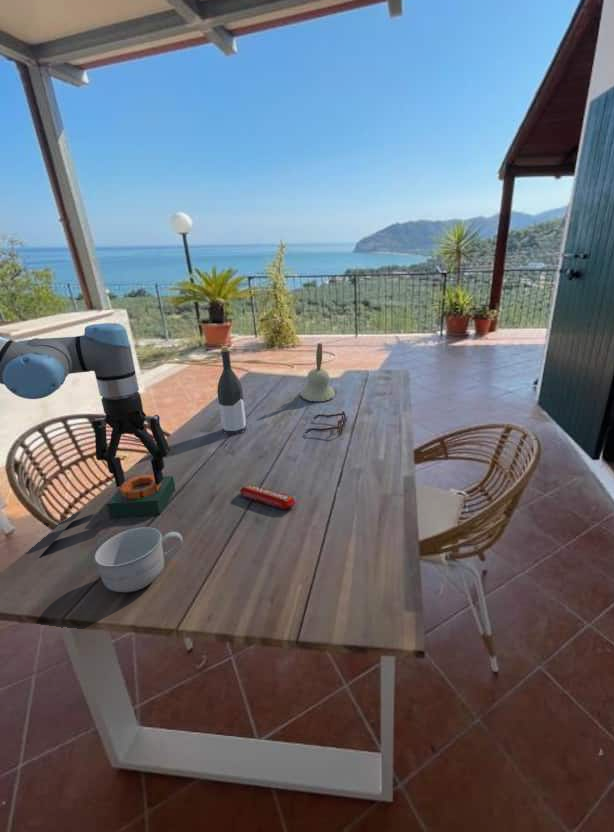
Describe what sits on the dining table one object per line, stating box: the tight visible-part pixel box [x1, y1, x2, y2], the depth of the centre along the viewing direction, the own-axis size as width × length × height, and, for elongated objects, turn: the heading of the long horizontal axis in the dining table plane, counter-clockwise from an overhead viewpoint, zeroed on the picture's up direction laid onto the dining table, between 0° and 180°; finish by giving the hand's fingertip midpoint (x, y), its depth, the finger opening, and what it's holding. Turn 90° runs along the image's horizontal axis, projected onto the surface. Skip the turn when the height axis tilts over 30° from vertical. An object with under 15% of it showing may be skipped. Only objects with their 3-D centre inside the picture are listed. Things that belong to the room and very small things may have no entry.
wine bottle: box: [216, 345, 247, 435], centre depth 132 cm, size 8×8×30 cm
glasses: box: [304, 410, 347, 435], centre depth 137 cm, size 13×13×5 cm
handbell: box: [299, 342, 336, 402], centre depth 164 cm, size 15×15×25 cm
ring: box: [119, 473, 161, 499], centre depth 94 cm, size 8×8×2 cm
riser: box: [106, 475, 176, 519], centre depth 95 cm, size 11×11×4 cm
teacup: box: [94, 526, 184, 593], centre depth 72 cm, size 14×11×8 cm
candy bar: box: [238, 484, 297, 510], centre depth 96 cm, size 16×4×3 cm, turn 64°
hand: (140, 482), depth 94 cm, fingers closed on ring, 8 cm apart
